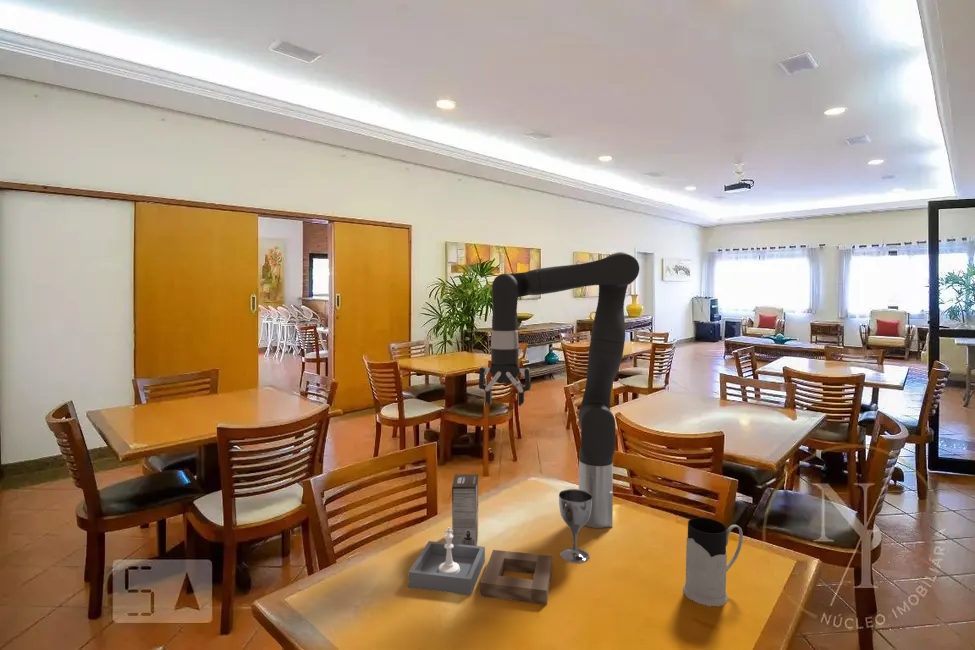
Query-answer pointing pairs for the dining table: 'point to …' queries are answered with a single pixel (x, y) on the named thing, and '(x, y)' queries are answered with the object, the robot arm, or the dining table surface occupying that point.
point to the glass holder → (708, 561)
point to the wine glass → (575, 520)
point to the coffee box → (465, 509)
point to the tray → (430, 579)
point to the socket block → (516, 587)
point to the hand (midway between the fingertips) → (504, 404)
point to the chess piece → (449, 557)
